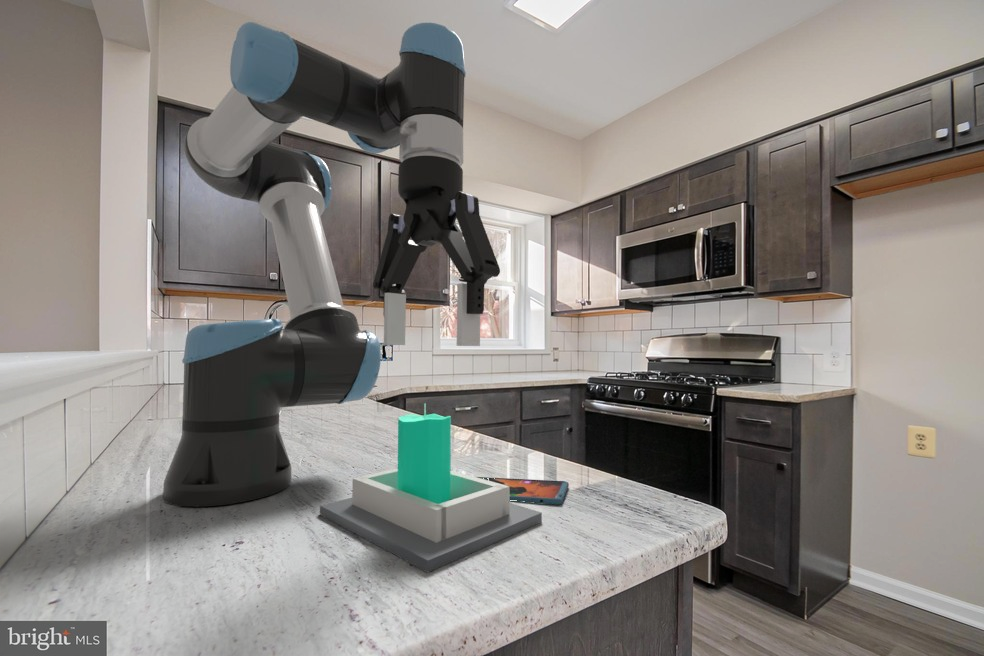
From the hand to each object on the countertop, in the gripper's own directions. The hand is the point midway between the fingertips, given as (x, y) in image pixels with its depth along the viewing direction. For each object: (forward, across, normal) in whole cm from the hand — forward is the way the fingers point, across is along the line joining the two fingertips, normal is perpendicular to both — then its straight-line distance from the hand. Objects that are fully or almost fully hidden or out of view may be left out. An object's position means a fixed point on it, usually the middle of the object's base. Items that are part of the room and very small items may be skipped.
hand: (428, 345), depth 53 cm
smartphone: (+20, +1, +14) cm, 25 cm away
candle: (+19, 0, -1) cm, 19 cm away
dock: (+20, +1, 0) cm, 20 cm away
